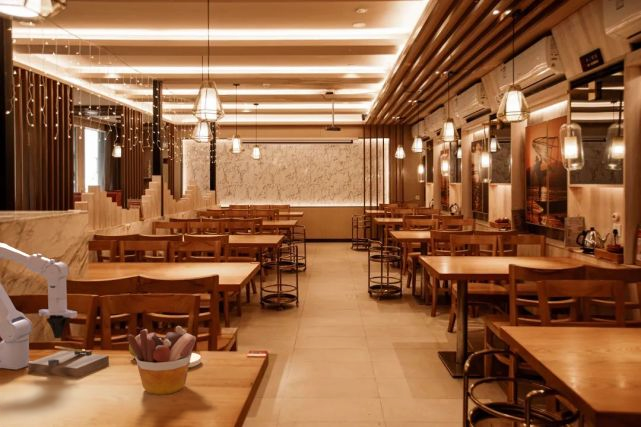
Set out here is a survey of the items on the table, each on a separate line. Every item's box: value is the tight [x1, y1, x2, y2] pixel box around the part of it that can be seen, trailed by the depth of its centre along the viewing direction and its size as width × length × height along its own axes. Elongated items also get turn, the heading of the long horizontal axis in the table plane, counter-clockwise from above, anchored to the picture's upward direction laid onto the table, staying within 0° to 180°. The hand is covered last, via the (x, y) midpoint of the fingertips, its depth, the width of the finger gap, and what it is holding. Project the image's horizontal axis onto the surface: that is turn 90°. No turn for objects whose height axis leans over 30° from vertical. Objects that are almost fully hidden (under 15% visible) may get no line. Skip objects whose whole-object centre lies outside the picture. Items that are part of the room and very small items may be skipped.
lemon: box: [128, 335, 138, 357], centre depth 200 cm, size 6×6×8 cm
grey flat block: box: [27, 349, 110, 379], centre depth 189 cm, size 20×15×5 cm
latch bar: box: [54, 345, 87, 353], centre depth 190 cm, size 3×12×1 cm, turn 161°
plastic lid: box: [189, 352, 202, 368], centre depth 192 cm, size 14×14×2 cm
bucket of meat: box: [126, 325, 197, 396], centre depth 167 cm, size 20×16×20 cm
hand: (58, 337), depth 190 cm, fingers closed
